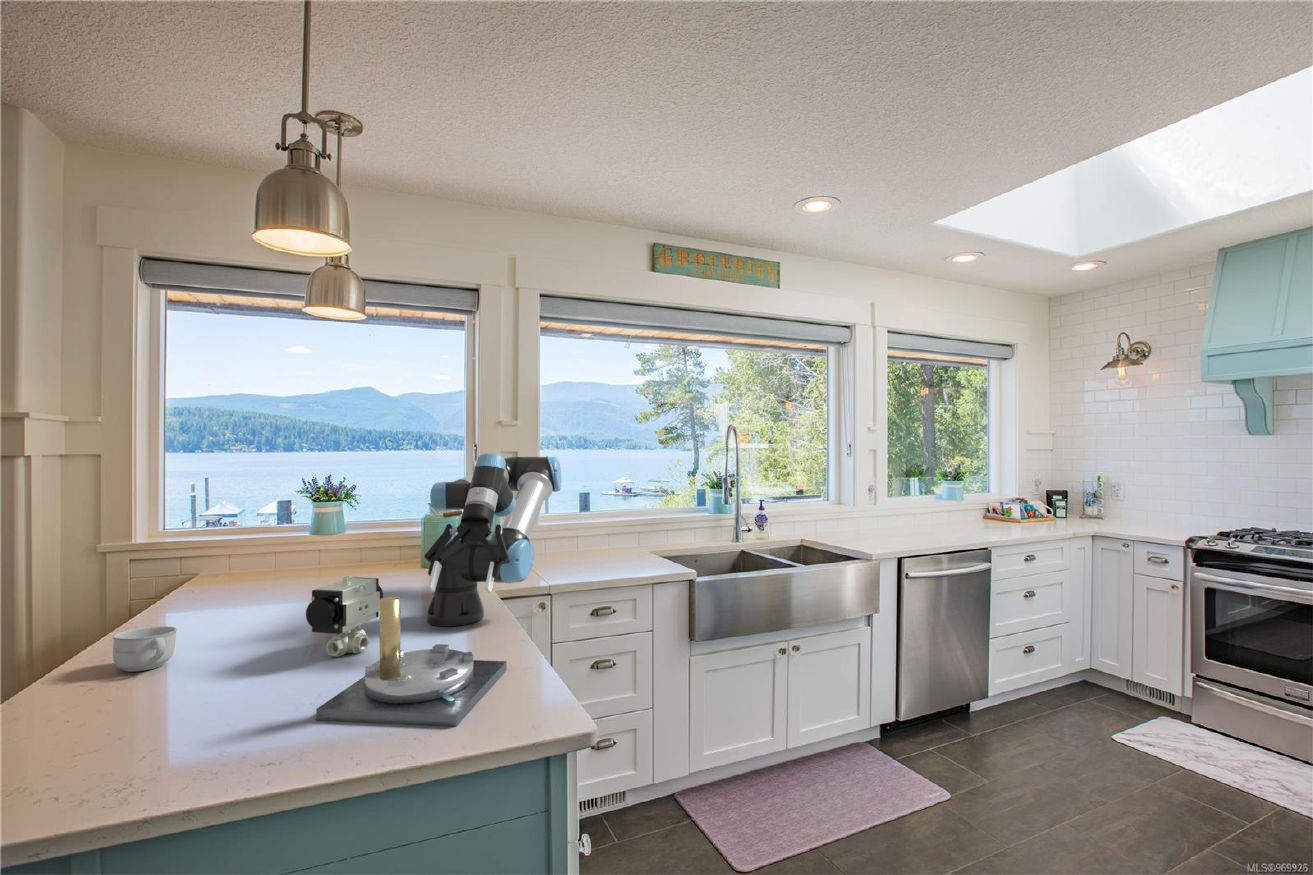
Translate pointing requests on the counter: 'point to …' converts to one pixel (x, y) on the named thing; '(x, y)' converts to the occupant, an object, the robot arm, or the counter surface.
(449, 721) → the base plate
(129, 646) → the teacup
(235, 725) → the counter surface
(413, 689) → the silver tabbed disc
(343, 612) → the ball valve
